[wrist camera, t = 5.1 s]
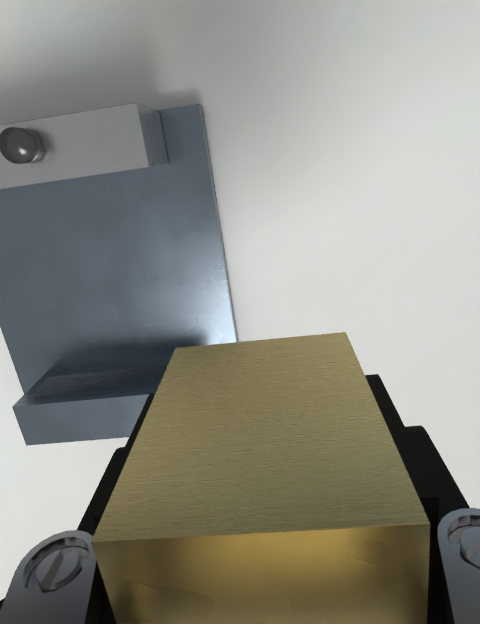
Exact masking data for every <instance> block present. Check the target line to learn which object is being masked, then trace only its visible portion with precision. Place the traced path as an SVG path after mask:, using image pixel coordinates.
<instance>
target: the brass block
mask: <svg viewBox="0 0 480 624" xmlns="http://www.w3.org/2000/svg"><path fill="white" fill-rule="evenodd" d="M91 544H92V547H93V550H94V553H95V557H96V560H97V563H98V566H99V569H100V572H101V575H102V578H103V582H104V585H105V588H106V591H107V594H108V597H109V600H110V604H111V607H112V610H113V613H114V616H115V619H116V622H117V624H427V608H428V578H429V548H430V522H429V520H428V518H427V515H426V513H425V511H424V509H423V506H422V504H421V502H420V499H419V497H418V495H417V493H416V490H415V488H414V486H413V484H412V481H411V479H410V477H409V475H408V472H407V470H406V468H405V465H404V463H403V461H402V459H401V456H400V454H399V452H398V450H397V447H396V445H395V443H394V441H393V438H392V436H391V434H390V432H389V429H388V427H387V425H386V422H385V420H384V418H383V416H382V413H381V411H380V409H379V407H378V404H377V402H376V400H375V398H374V395H373V393H372V391H371V388H370V386H369V384H368V382H367V379H366V377H365V375H364V373H363V370H362V368H361V366H360V364H359V361H358V359H357V357H356V355H355V352H354V350H353V348H352V345H351V343H350V341H349V339H348V336H347V334H346V332H342V333H332V334H321V335H310V336H299V337H288V338H277V339H267V340H256V341H245V342H234V343H223V344H213V345H202V346H191V347H180V348H175V350H174V353H173V355H172V357H171V359H170V362H169V364H168V366H167V369H166V371H165V373H164V376H163V378H162V380H161V382H160V385H159V387H158V389H157V392H156V394H155V396H154V398H153V401H152V403H151V405H150V408H149V410H148V412H147V414H146V417H145V419H144V421H143V424H142V426H141V428H140V430H139V433H138V435H137V437H136V440H135V442H134V444H133V447H132V449H131V451H130V453H129V456H128V458H127V460H126V463H125V465H124V467H123V469H122V472H121V474H120V476H119V479H118V481H117V483H116V485H115V488H114V490H113V492H112V495H111V497H110V499H109V502H108V504H107V506H106V508H105V511H104V513H103V515H102V518H101V520H100V522H99V524H98V527H97V529H96V531H95V534H94V536H93V538H92V540H91Z"/></svg>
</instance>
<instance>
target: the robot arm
mask: <svg viewBox="0 0 480 624" xmlns="http://www.w3.org/2000/svg"><path fill="white" fill-rule="evenodd" d="M365 377H366V379H367V382H368V384H369V386H370V388H371V391H372V393H373V395H374V398H375V400H376V402H377V404H378V407H379V409H380V411H381V413H382V416H383V418H384V420H385V422H386V425H387V427H388V429H389V432H390V434H391V436H392V438H393V441H394V443H395V445H396V447H397V450H398V452H399V454H400V456H401V459H402V461H403V463H404V465H405V468H406V470H407V472H408V475H409V477H410V479H411V481H412V484H413V486H414V488H415V490H416V493H417V495H418V497H419V499H420V502H421V504H422V506H423V509H424V511H425V513H426V515H427V518H428V520H429V522H430V548H429V578H428V608H427V624H480V509H476V508H470V507H469V506H468V504H467V502H466V500H465V498H464V497H463V495H462V493H461V491H460V490H459V488H458V486H457V484H456V483H455V481H454V479H453V477H452V476H451V474H450V472H449V470H448V469H447V467H446V465H445V463H444V462H443V460H442V458H441V456H440V454H439V453H438V451H437V449H436V447H435V446H434V444H433V442H432V440H431V439H430V437H429V435H428V433H427V432H426V430H425V429H424V427H422V426H409V427H405V426H404V424H403V422H402V420H401V418H400V416H399V414H398V412H397V410H396V408H395V406H394V404H393V402H392V400H391V398H390V396H389V394H388V392H387V390H386V388H385V386H384V384H383V382H382V380H381V378H380V376H379V375H378V374H375V375H365ZM155 394H156V393H150V394H149V396H148V398H147V400H146V402H145V404H144V407H143V409H142V411H141V413H140V415H139V417H138V420H137V422H136V424H135V426H134V428H133V431H132V433H131V435H130V437H129V439H128V442H127V444H126V446H125V447H121V448H118V449H116V451H115V452H114V454H113V456H112V458H111V460H110V462H109V464H108V466H107V469H106V471H105V473H104V475H103V477H102V479H101V481H100V483H99V485H98V487H97V489H96V491H95V493H94V495H93V497H92V500H91V502H90V504H89V506H88V508H87V510H86V512H85V514H84V516H83V518H82V520H81V522H80V524H79V526H78V529H77V530H73V531H65V532H61V533H58V534H55V535H53V536H51V537H49V538H47V539H45V540H43V541H42V542H40V543H39V544H38V545H36V546H35V547H34V548H33V549H31V550H30V551H29V552H28V554H27V555H26V556H25V557H24V558H23V559H22V560H21V562H20V564H19V566H18V567H17V569H16V571H15V573H14V576H13V579H12V581H11V584H10V586H9V589H8V592H7V594H6V597H5V598H4V599H2V600H1V601H0V624H117V622H116V619H115V616H114V613H113V610H112V607H111V604H110V600H109V597H108V594H107V591H106V588H105V585H104V582H103V578H102V575H101V572H100V569H99V566H98V563H97V560H96V557H95V553H94V550H93V547H92V544H91V540H92V538H93V536H94V534H95V531H96V529H97V527H98V524H99V522H100V520H101V518H102V515H103V513H104V511H105V508H106V506H107V504H108V502H109V499H110V497H111V495H112V492H113V490H114V488H115V485H116V483H117V481H118V479H119V476H120V474H121V472H122V469H123V467H124V465H125V463H126V460H127V458H128V456H129V453H130V451H131V449H132V447H133V444H134V442H135V440H136V437H137V435H138V433H139V430H140V428H141V426H142V424H143V421H144V419H145V417H146V414H147V412H148V410H149V408H150V405H151V403H152V401H153V398H154V396H155Z"/></svg>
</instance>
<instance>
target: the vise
mask: <svg viewBox="0 0 480 624" xmlns="http://www.w3.org/2000/svg"><path fill="white" fill-rule="evenodd" d="M159 113H160V118H161V124H162V129H163V134H164V140H165V145H166V151H167V156H168V161H169V164H163V165H157V166H152V167H145V168H139V169H132V170H125V171H118V172H112V173H105V174H98V175H91V176H85V177H78V178H71V179H64V180H58V181H51V182H44V183H37V184H30V185H24V186H17V187H10V188H3V189H0V327H1V330H2V333H3V336H4V338H5V341H6V344H7V347H8V350H9V353H10V355H11V358H12V361H13V364H14V367H15V370H16V372H17V375H18V378H19V381H20V384H21V387H22V389H23V392H24V395H23V396H22V398H21V399H20V400H19V401H18V402H17V403H16V404H15V405H14V406H13V410H14V413H15V416H16V418H17V421H18V424H19V427H20V429H21V432H22V435H23V437H24V440H25V443H26V445H37V444H49V443H61V442H73V441H86V440H98V439H110V438H122V437H130V435H131V433H132V431H133V428H134V426H135V424H136V422H137V420H138V417H139V415H140V413H141V411H142V409H143V407H144V404H145V402H146V400H147V398H148V396H149V394H150V393H156V392H157V389H158V387H159V385H160V382H161V380H162V378H163V376H164V373H165V371H166V369H167V366H168V364H169V362H170V359H171V357H172V355H173V353H174V350H175V348H180V347H191V346H202V345H213V344H223V343H234V342H238V336H237V330H236V323H235V317H234V310H233V304H232V297H231V291H230V284H229V278H228V271H227V265H226V258H225V252H224V245H223V239H222V232H221V226H220V219H219V213H218V206H217V200H216V193H215V187H214V180H213V174H212V167H211V161H210V154H209V148H208V141H207V135H206V128H205V122H204V115H203V109H202V106H201V105H200V104H197V105H191V106H185V107H178V108H172V109H166V110H160V111H159Z"/></svg>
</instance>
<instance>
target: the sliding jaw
mask: <svg viewBox="0 0 480 624" xmlns="http://www.w3.org/2000/svg"><path fill="white" fill-rule="evenodd" d="M163 164H169V161H168V156H167V151H166V145H165V140H164V134H163V129H162V124H161V118H160V113H159V110H156V109H153V108H150V107H147V106H144V105H141V104H138V103H133V104H126V105H120V106H114V107H108V108H102V109H96V110H90V111H84V112H78V113H72V114H66V115H59V116H53V117H47V118H41V119H35V120H29V121H23V122H17V123H11V124H5V125H0V189H3V188H10V187H17V186H24V185H30V184H37V183H44V182H51V181H58V180H64V179H71V178H78V177H85V176H91V175H98V174H105V173H112V172H118V171H125V170H132V169H139V168H145V167H152V166H157V165H163Z"/></svg>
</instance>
